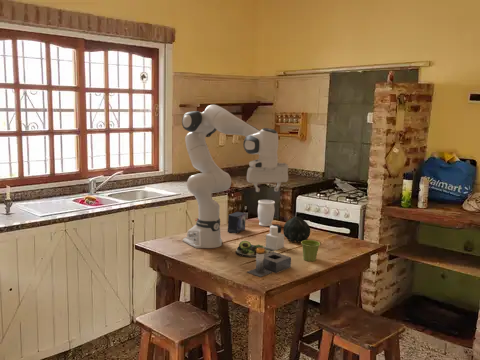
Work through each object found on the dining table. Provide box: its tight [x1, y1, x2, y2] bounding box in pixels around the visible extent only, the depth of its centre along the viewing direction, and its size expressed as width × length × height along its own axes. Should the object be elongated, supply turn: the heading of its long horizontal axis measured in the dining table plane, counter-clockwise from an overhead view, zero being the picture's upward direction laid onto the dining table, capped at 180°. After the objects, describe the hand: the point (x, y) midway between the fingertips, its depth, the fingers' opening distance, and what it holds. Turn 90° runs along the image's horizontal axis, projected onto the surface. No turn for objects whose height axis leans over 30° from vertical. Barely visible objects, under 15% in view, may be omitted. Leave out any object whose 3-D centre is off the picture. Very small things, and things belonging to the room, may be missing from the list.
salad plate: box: [235, 240, 276, 258], centre depth 246 cm, size 19×18×5 cm
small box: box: [227, 211, 247, 234], centre depth 283 cm, size 11×6×10 cm, turn 150°
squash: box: [282, 216, 311, 243], centre depth 268 cm, size 14×15×15 cm
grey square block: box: [264, 251, 292, 274], centre depth 225 cm, size 11×11×5 cm
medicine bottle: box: [265, 224, 285, 251], centre depth 254 cm, size 7×7×12 cm
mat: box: [246, 268, 273, 278], centre depth 218 cm, size 8×8×1 cm
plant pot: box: [300, 239, 321, 262], centre depth 237 cm, size 9×9×9 cm
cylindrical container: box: [255, 247, 265, 273], centre depth 217 cm, size 4×4×11 cm
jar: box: [257, 199, 276, 227], centre depth 299 cm, size 11×10×15 cm
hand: (267, 191), depth 230 cm, fingers open, 8 cm apart
